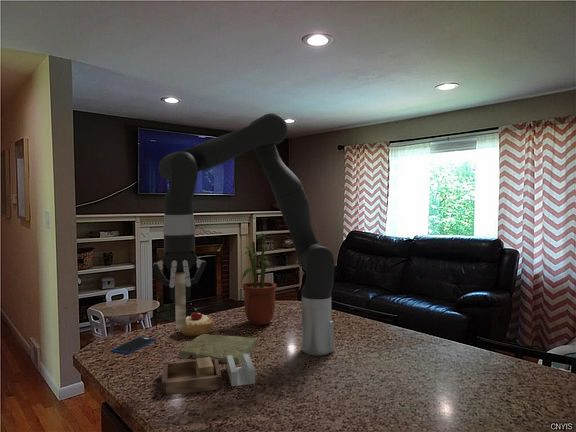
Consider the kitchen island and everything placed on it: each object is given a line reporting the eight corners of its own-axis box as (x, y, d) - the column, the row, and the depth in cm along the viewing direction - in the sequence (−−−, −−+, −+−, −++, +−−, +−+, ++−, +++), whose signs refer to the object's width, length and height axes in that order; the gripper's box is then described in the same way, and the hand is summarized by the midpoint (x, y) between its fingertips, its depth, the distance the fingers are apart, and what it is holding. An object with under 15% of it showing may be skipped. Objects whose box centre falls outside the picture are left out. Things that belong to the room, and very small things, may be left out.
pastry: (184, 342, 134) (183, 316, 134) (175, 331, 145) (174, 307, 144) (218, 334, 140) (217, 310, 139) (207, 325, 150) (206, 302, 150)
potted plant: (283, 322, 154) (283, 232, 153) (254, 332, 142) (254, 235, 141) (252, 314, 165) (252, 230, 164) (223, 322, 154) (222, 233, 153)
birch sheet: (185, 317, 105) (184, 268, 104) (186, 327, 96) (185, 274, 95) (176, 318, 104) (175, 269, 104) (175, 328, 95) (174, 275, 95)
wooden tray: (217, 371, 109) (217, 357, 109) (221, 392, 97) (221, 376, 97) (164, 377, 105) (163, 362, 105) (161, 400, 93) (161, 383, 93)
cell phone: (157, 340, 135) (157, 338, 135) (128, 355, 122) (128, 353, 122) (139, 338, 137) (139, 336, 137) (109, 353, 124) (109, 350, 124)
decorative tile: (200, 342, 134) (200, 331, 134) (257, 346, 130) (257, 335, 130) (173, 364, 115) (173, 352, 115) (239, 370, 111) (239, 357, 111)
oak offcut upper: (210, 365, 105) (210, 356, 105) (213, 375, 99) (213, 366, 99) (196, 367, 104) (196, 358, 104) (199, 377, 98) (199, 368, 98)
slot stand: (248, 369, 110) (248, 353, 110) (255, 387, 100) (255, 369, 100) (226, 371, 109) (226, 355, 109) (231, 390, 98) (231, 372, 98)
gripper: (206, 231, 105) (207, 295, 105) (151, 232, 101) (152, 299, 102) (208, 233, 97) (209, 302, 98) (148, 234, 94) (150, 307, 94)
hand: (180, 300), depth 100 cm, fingers closed on birch sheet, 2 cm apart
